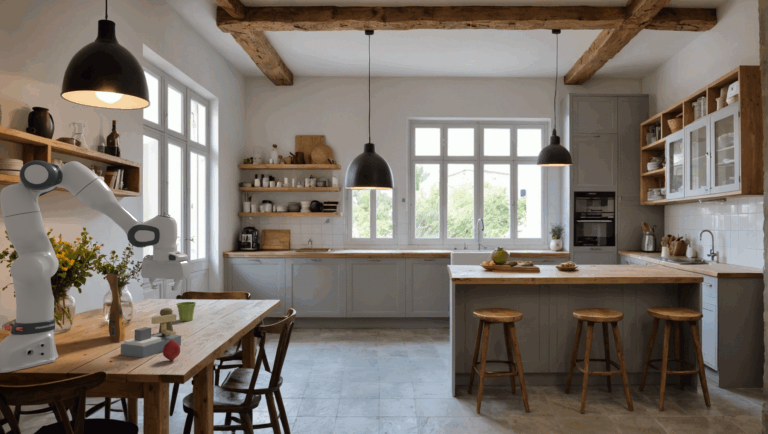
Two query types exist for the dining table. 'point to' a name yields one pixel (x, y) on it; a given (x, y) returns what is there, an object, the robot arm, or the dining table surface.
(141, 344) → the cover
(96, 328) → the dining table surface
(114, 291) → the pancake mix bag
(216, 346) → the dining table surface
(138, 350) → the case
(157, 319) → the t key
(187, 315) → the plant pot
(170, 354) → the onion
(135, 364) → the dining table surface
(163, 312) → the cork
